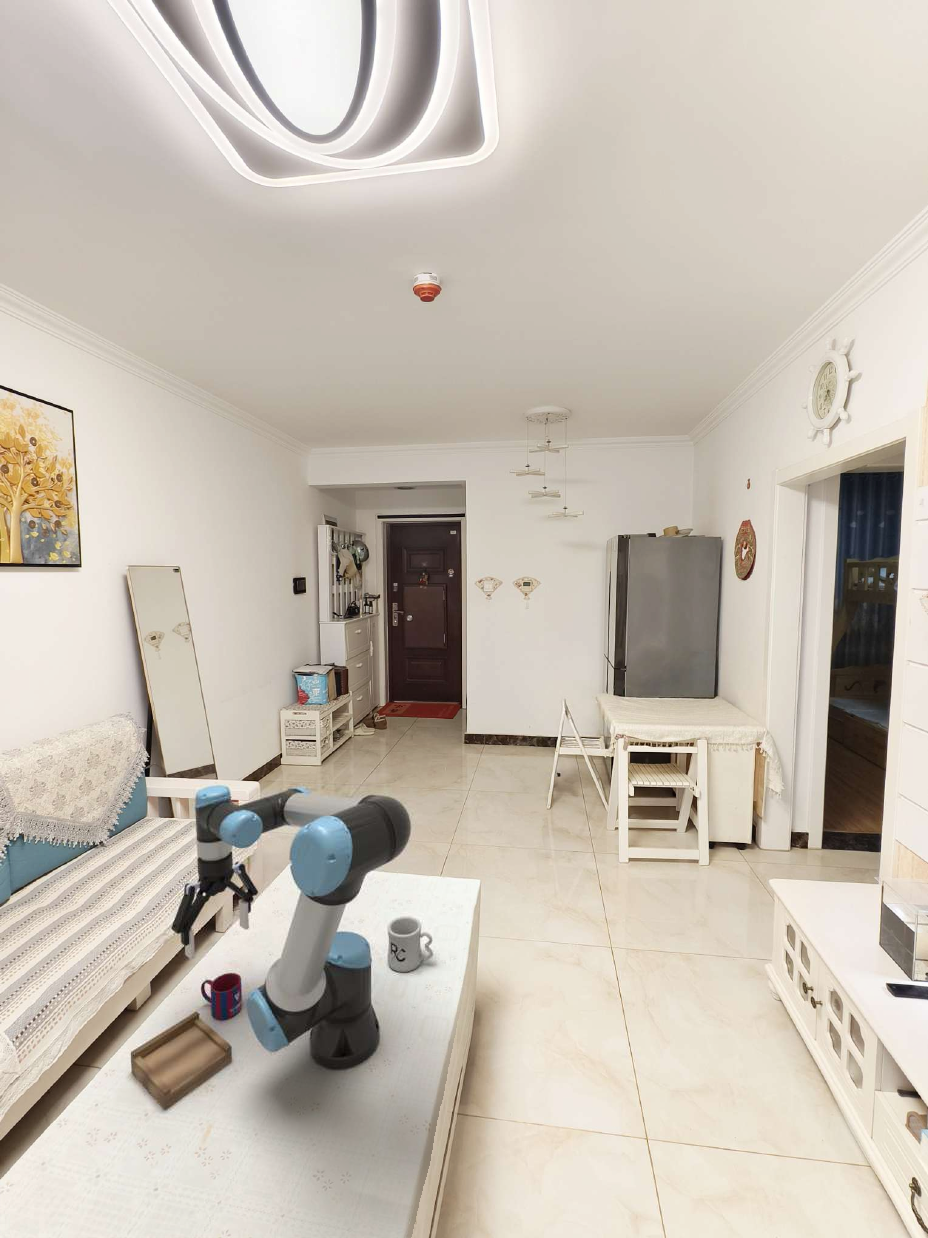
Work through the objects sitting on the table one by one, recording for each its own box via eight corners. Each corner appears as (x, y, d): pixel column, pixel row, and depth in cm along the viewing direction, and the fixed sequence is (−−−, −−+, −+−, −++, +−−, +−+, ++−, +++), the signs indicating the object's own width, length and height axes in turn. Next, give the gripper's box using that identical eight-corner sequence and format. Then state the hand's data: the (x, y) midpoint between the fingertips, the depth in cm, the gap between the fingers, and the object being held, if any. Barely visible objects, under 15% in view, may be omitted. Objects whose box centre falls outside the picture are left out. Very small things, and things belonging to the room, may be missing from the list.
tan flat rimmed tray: (231, 1061, 123) (231, 1041, 122) (164, 1110, 111) (164, 1088, 111) (197, 1030, 131) (196, 1011, 131) (131, 1072, 120) (130, 1052, 120)
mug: (382, 970, 151) (381, 933, 150) (394, 948, 160) (394, 914, 159) (427, 978, 148) (427, 941, 147) (437, 955, 157) (437, 920, 156)
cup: (227, 1024, 133) (226, 996, 132) (194, 1012, 136) (193, 984, 136) (248, 1004, 139) (247, 977, 139) (215, 993, 143) (214, 966, 142)
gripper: (253, 830, 147) (255, 911, 149) (152, 870, 127) (156, 963, 129) (271, 838, 143) (273, 921, 144) (169, 881, 123) (173, 977, 124)
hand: (218, 941), depth 137 cm, fingers open, 13 cm apart
